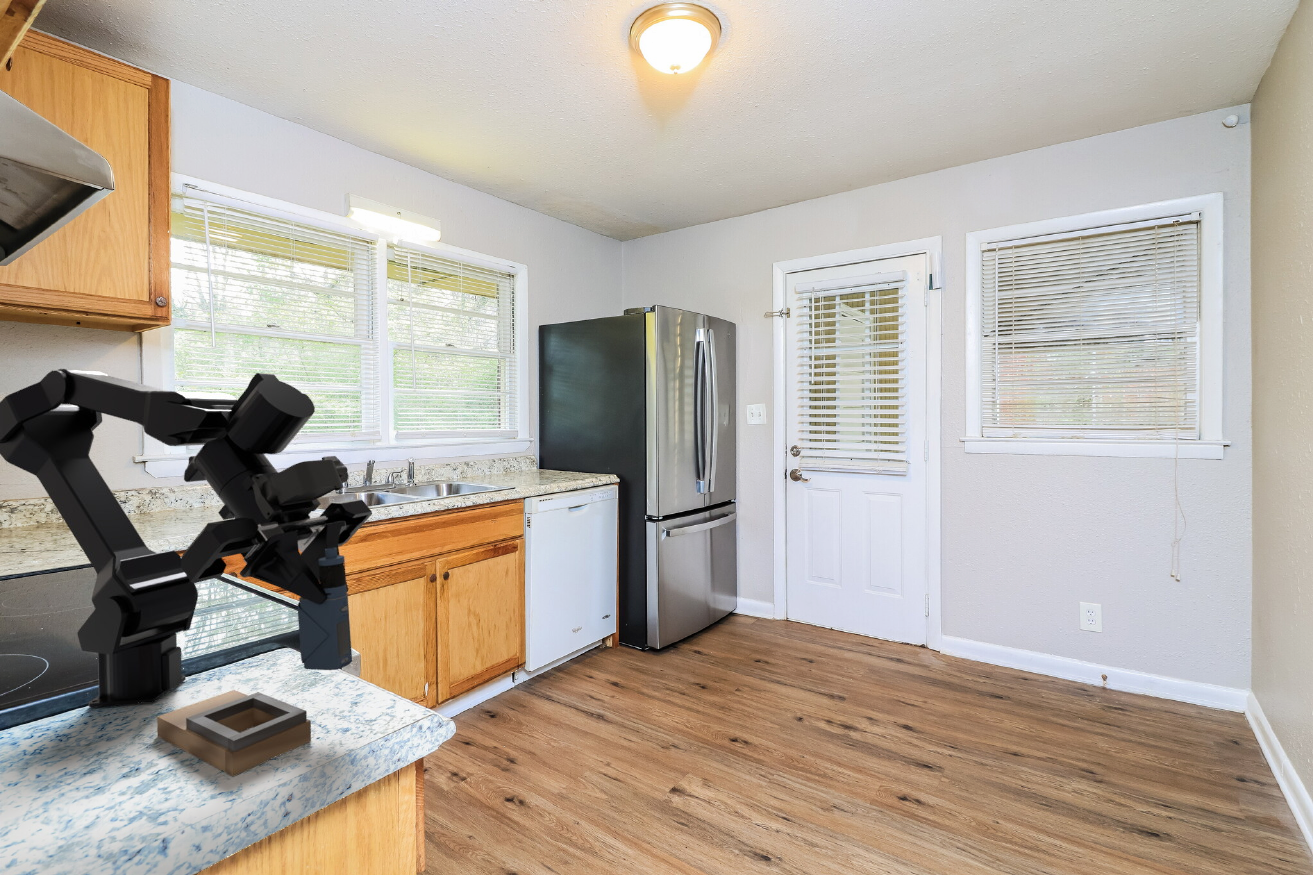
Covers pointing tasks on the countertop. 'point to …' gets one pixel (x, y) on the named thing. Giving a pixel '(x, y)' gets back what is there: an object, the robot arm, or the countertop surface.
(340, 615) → the vaping device
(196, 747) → the walnut socket board
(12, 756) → the countertop surface
